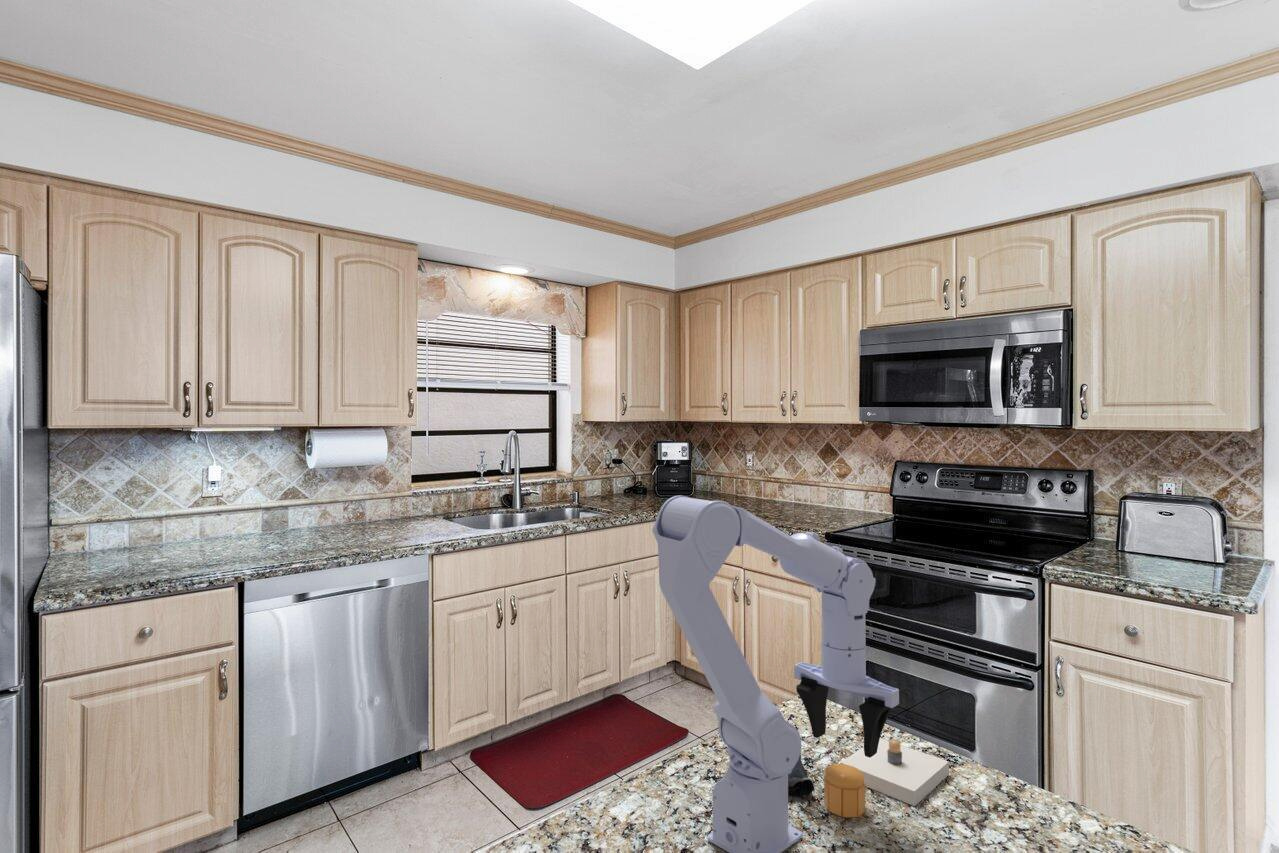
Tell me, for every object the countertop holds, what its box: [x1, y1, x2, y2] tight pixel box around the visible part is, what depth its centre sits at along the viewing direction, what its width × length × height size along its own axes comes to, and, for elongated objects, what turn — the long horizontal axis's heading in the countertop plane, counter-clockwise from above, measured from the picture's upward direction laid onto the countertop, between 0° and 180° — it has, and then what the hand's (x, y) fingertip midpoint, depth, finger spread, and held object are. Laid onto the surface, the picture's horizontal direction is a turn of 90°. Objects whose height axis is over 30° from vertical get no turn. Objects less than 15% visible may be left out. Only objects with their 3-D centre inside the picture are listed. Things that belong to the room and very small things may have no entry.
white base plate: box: [839, 737, 950, 807], centre depth 96 cm, size 12×11×5 cm
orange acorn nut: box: [823, 763, 866, 818], centre depth 88 cm, size 5×5×4 cm
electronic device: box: [788, 753, 816, 798], centre depth 97 cm, size 9×6×15 cm
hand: (844, 744), depth 88 cm, fingers open, 7 cm apart
